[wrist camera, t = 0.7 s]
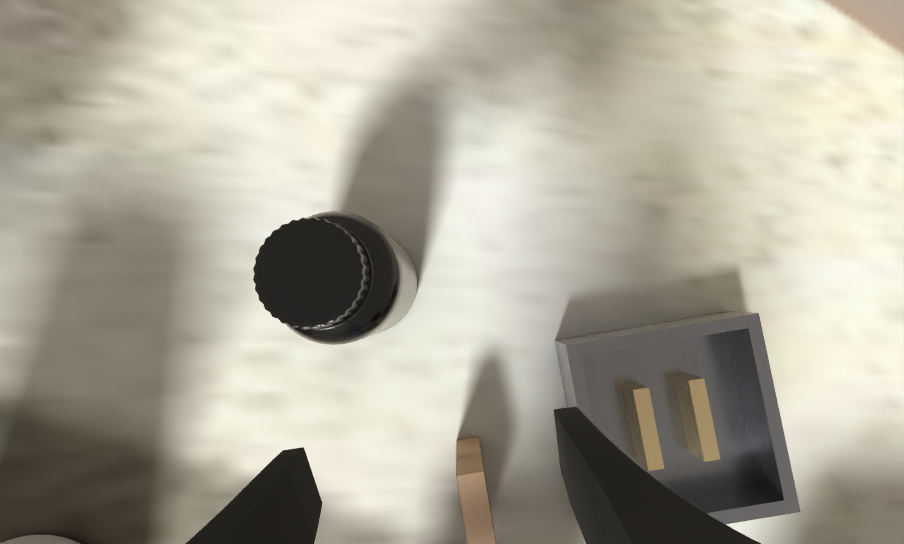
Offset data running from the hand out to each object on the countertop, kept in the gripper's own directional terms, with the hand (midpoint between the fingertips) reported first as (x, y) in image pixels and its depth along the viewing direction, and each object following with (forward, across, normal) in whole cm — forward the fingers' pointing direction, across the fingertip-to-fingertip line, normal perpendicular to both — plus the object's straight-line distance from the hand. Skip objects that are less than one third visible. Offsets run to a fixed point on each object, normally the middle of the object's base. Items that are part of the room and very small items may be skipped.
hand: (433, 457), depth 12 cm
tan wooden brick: (+14, 0, +14) cm, 19 cm away
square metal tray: (+15, -13, +12) cm, 23 cm away
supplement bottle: (+19, +5, 0) cm, 19 cm away
